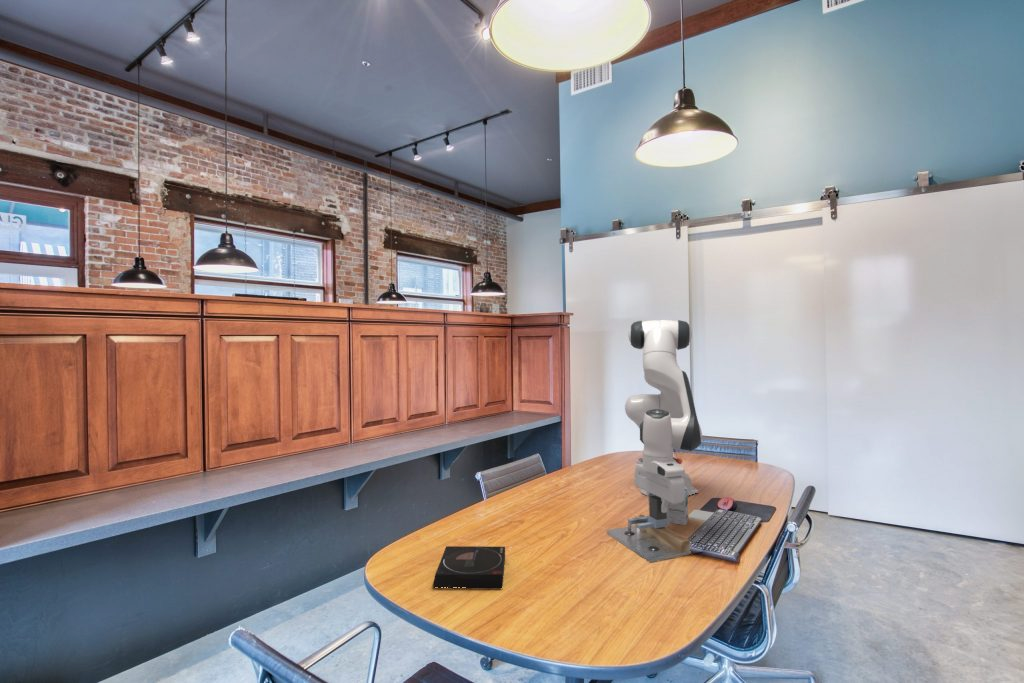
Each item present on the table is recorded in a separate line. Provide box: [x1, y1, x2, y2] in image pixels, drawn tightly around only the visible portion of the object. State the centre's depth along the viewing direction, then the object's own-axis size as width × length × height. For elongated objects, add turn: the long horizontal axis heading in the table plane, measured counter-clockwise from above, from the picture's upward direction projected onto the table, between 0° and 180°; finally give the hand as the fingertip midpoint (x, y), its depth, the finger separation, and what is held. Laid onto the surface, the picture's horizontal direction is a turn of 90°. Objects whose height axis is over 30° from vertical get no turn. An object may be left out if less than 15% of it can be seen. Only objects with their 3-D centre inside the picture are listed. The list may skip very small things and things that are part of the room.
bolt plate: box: [606, 525, 692, 563], centre depth 148 cm, size 18×22×1 cm
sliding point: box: [637, 496, 670, 539], centre depth 149 cm, size 10×4×12 cm, turn 111°
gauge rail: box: [627, 514, 691, 553], centre depth 148 cm, size 9×22×4 cm, turn 21°
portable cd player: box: [432, 545, 506, 589], centre depth 129 cm, size 16×17×4 cm
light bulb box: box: [654, 488, 689, 526], centre depth 166 cm, size 11×7×11 cm, turn 65°
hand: (657, 509), depth 150 cm, fingers closed on sliding point, 4 cm apart
